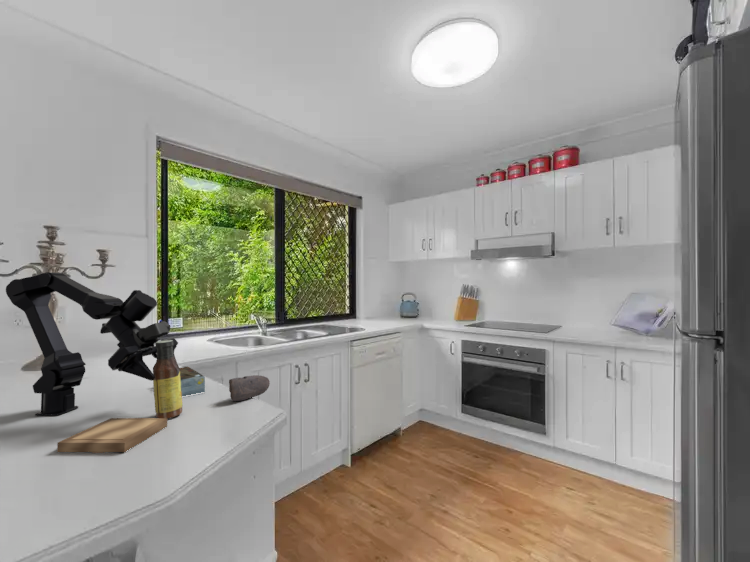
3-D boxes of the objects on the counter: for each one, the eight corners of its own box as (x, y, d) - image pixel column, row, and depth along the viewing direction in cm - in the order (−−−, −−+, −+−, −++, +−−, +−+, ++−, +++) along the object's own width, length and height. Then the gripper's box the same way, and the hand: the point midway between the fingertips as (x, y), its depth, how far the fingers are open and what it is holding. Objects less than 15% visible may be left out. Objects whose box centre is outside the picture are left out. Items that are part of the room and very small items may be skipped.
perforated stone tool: (264, 390, 116) (264, 370, 116) (274, 393, 113) (274, 372, 113) (222, 402, 104) (222, 378, 104) (232, 405, 101) (232, 381, 101)
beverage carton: (178, 399, 107) (178, 377, 108) (163, 387, 121) (163, 368, 121) (205, 394, 113) (205, 373, 113) (188, 383, 127) (188, 365, 127)
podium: (57, 452, 71) (57, 442, 71) (110, 426, 85) (111, 417, 85) (124, 452, 70) (124, 442, 70) (167, 426, 84) (167, 417, 84)
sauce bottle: (188, 412, 94) (185, 339, 93) (167, 421, 88) (165, 343, 87) (169, 409, 96) (167, 338, 95) (148, 418, 90) (145, 342, 89)
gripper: (119, 314, 84) (161, 360, 82) (172, 310, 102) (207, 348, 101) (89, 346, 84) (130, 393, 83) (147, 337, 103) (181, 375, 101)
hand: (166, 375), depth 92 cm, fingers open, 9 cm apart
